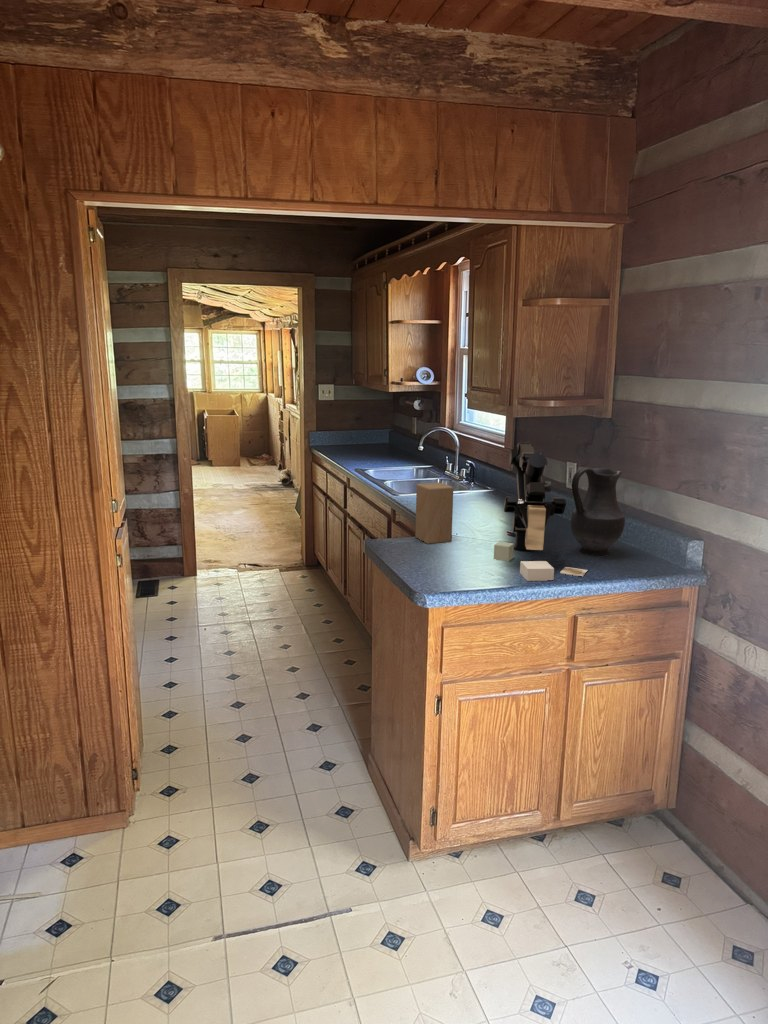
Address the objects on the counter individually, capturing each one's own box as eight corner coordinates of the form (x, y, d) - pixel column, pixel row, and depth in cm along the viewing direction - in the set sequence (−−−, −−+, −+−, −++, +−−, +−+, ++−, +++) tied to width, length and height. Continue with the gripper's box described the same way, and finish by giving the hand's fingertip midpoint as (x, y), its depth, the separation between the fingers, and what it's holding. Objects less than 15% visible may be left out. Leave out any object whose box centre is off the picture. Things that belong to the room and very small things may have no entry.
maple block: (524, 545, 227) (527, 505, 224) (540, 545, 226) (543, 505, 223) (526, 549, 222) (529, 508, 219) (542, 550, 221) (546, 509, 219)
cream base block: (519, 573, 221) (520, 561, 220) (545, 573, 221) (545, 561, 221) (527, 581, 213) (527, 568, 212) (553, 581, 214) (554, 568, 213)
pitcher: (632, 556, 241) (640, 467, 235) (587, 564, 231) (594, 472, 225) (594, 544, 256) (600, 461, 249) (550, 551, 246) (555, 464, 239)
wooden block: (414, 537, 261) (416, 483, 257) (439, 535, 265) (440, 482, 261) (427, 544, 253) (428, 488, 248) (452, 541, 256) (454, 486, 252)
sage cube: (498, 556, 239) (499, 541, 238) (513, 558, 237) (513, 543, 236) (493, 559, 235) (494, 544, 234) (508, 561, 233) (509, 546, 232)
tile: (565, 567, 226) (565, 566, 226) (587, 571, 223) (587, 569, 223) (559, 573, 220) (559, 571, 220) (582, 577, 217) (582, 575, 217)
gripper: (506, 470, 224) (507, 513, 215) (567, 472, 222) (571, 514, 214) (503, 490, 233) (504, 532, 225) (561, 492, 232) (564, 534, 223)
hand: (535, 527), depth 221 cm, fingers closed on maple block, 5 cm apart
